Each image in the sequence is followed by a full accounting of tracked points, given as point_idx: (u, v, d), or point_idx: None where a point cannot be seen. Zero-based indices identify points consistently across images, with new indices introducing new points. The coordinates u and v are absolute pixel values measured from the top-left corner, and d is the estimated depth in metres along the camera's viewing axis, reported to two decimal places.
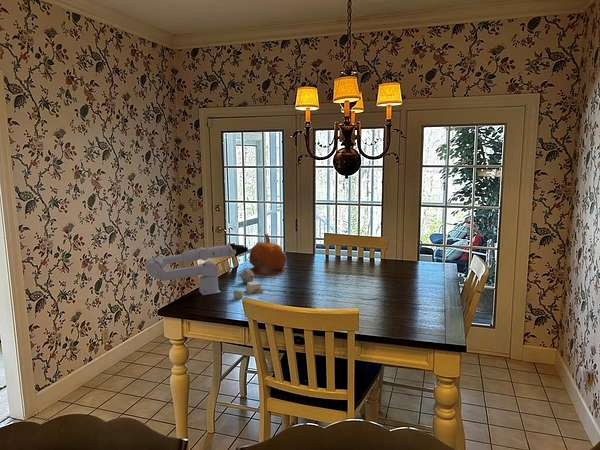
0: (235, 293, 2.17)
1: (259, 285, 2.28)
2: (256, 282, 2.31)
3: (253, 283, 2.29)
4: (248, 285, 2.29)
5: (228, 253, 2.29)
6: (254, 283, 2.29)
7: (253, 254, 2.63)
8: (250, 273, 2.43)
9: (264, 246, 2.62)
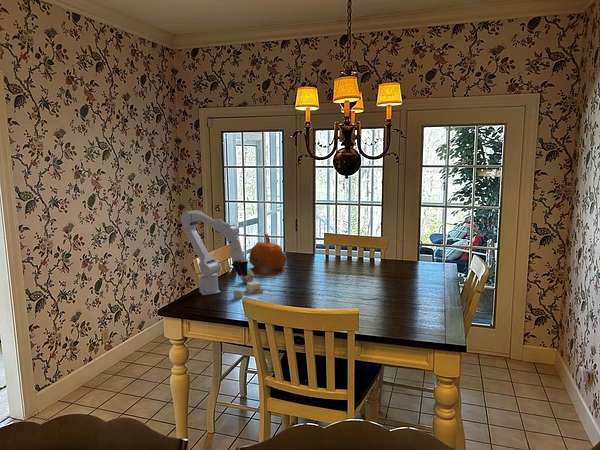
0: (235, 293, 2.17)
1: (259, 285, 2.28)
2: (256, 282, 2.31)
3: (253, 283, 2.29)
4: (248, 285, 2.29)
5: (237, 256, 2.17)
6: (254, 283, 2.29)
7: (253, 254, 2.63)
8: (250, 273, 2.43)
9: (264, 246, 2.62)
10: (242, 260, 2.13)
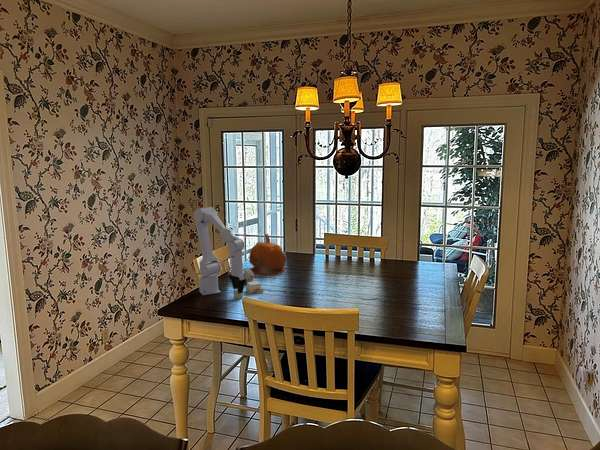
0: (235, 293, 2.17)
1: (259, 285, 2.28)
2: (256, 282, 2.31)
3: (253, 283, 2.29)
4: (248, 285, 2.29)
5: (236, 272, 2.15)
6: (254, 283, 2.29)
7: (253, 254, 2.63)
8: (250, 273, 2.43)
9: (264, 246, 2.62)
10: (241, 278, 2.11)
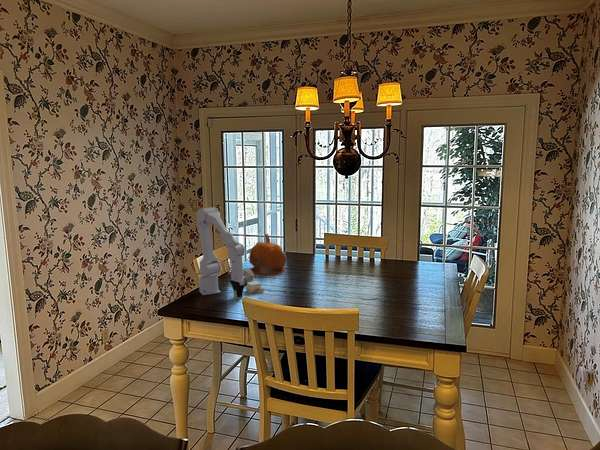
0: (235, 293, 2.17)
1: (259, 285, 2.28)
2: (256, 282, 2.31)
3: (253, 283, 2.29)
4: (248, 285, 2.29)
5: (236, 277, 2.15)
6: (254, 283, 2.29)
7: (253, 254, 2.63)
8: (250, 273, 2.43)
9: (264, 246, 2.62)
10: (241, 283, 2.11)
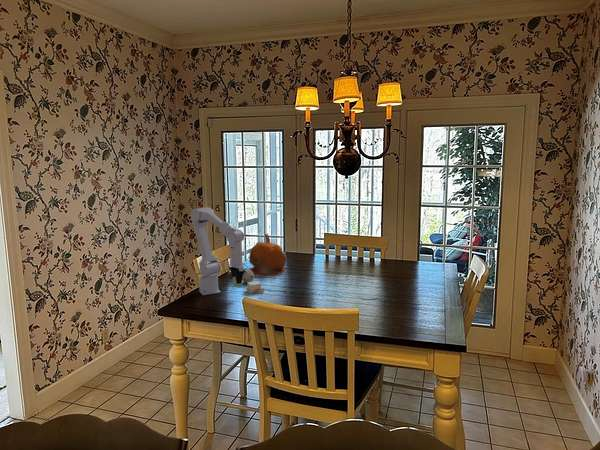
0: (234, 279, 2.16)
1: (259, 285, 2.28)
2: (256, 282, 2.31)
3: (253, 283, 2.29)
4: (248, 285, 2.29)
5: (236, 263, 2.14)
6: (254, 283, 2.29)
7: (253, 254, 2.63)
8: (250, 273, 2.43)
9: (264, 246, 2.62)
10: (240, 269, 2.10)
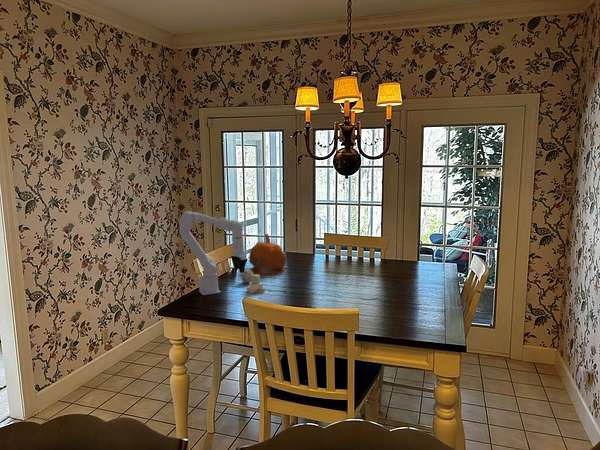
0: (253, 278, 2.27)
1: (261, 285, 2.28)
2: None
3: None
4: (250, 285, 2.29)
5: (237, 252, 2.27)
6: None
7: (253, 254, 2.63)
8: (250, 273, 2.43)
9: (264, 246, 2.62)
10: (242, 258, 2.24)
